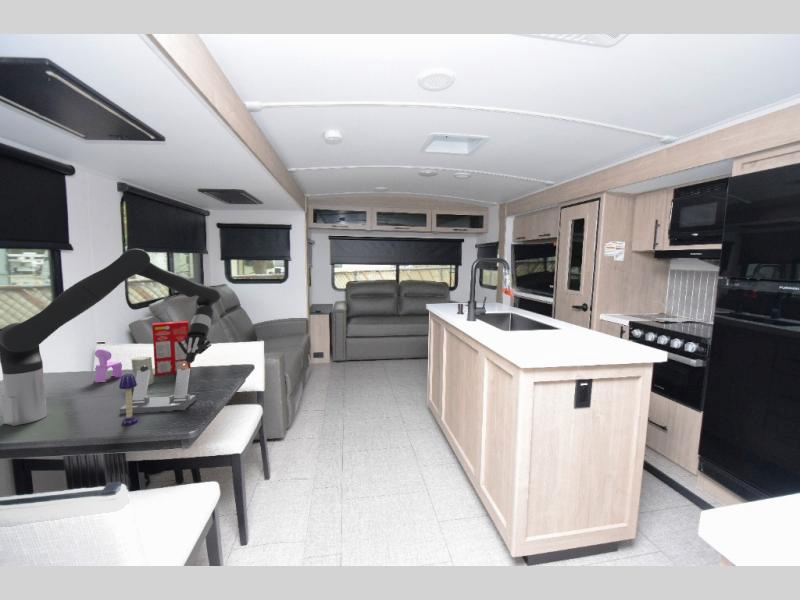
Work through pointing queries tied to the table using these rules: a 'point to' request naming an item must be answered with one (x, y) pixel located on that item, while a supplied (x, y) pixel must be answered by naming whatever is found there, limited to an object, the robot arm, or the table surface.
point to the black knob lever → (141, 384)
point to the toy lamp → (128, 397)
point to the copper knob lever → (182, 382)
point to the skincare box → (140, 362)
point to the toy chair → (106, 366)
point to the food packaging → (169, 346)
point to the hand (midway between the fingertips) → (189, 362)
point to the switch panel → (160, 404)
